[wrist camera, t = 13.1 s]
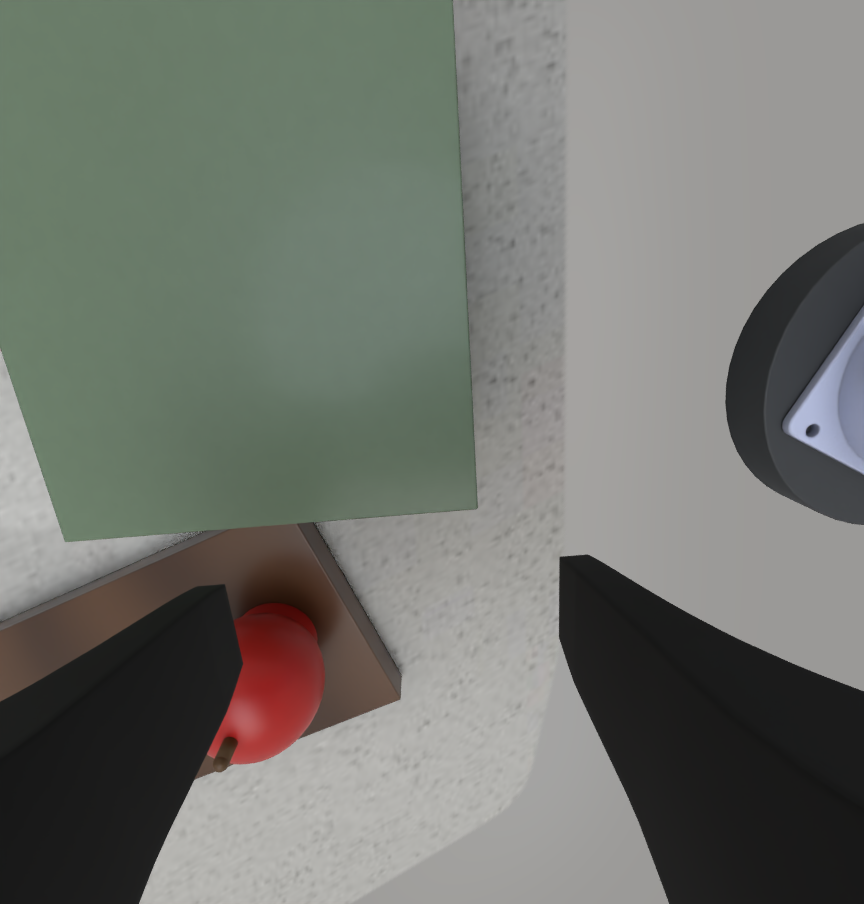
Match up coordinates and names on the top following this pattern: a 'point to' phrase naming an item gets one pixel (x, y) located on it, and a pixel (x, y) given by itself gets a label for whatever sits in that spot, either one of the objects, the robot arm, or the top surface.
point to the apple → (270, 686)
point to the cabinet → (235, 260)
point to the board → (248, 585)
